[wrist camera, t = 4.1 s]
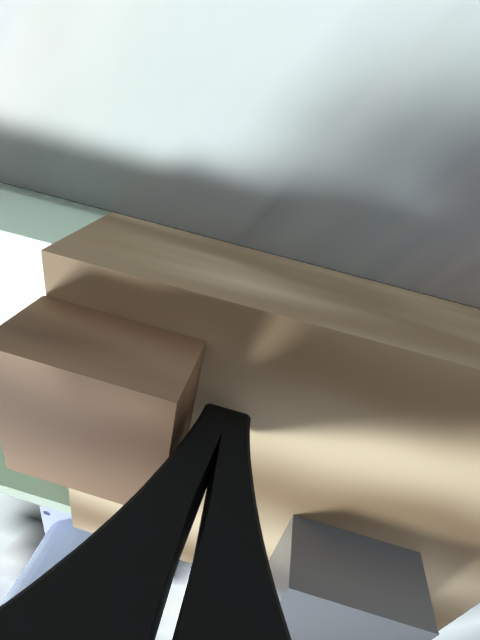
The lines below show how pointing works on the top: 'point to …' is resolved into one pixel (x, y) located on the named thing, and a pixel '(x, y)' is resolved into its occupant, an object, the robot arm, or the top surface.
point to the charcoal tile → (349, 586)
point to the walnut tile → (93, 397)
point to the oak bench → (309, 387)
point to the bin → (32, 293)
